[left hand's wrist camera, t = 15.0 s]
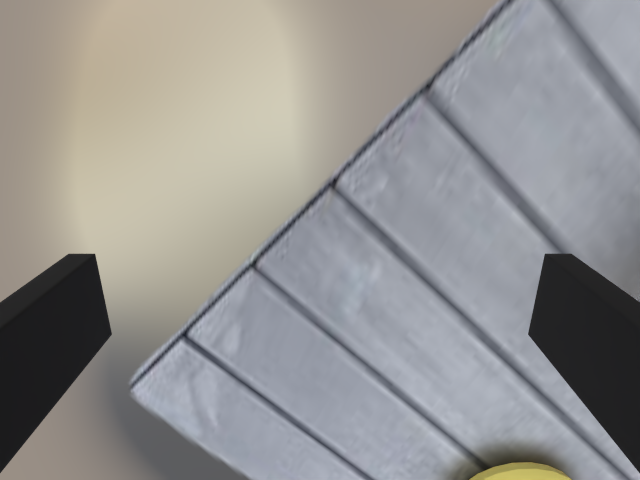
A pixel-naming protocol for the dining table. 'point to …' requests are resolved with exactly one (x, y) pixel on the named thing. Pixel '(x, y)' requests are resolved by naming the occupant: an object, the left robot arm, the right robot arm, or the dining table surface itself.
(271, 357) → the dining table surface
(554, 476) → the vase
